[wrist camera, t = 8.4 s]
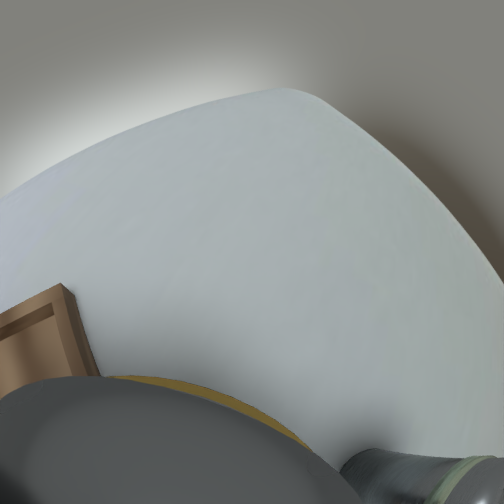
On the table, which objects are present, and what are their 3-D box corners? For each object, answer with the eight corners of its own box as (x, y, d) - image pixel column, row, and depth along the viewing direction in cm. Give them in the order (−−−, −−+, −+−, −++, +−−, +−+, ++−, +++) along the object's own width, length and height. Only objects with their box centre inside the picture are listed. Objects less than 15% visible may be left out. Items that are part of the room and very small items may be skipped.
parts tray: (20, 485, 10) (4, 488, 7) (-25, 345, 15) (-41, 337, 13) (141, 457, 14) (131, 464, 12) (74, 295, 20) (60, 282, 18)
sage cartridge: (352, 518, 13) (459, 572, 2) (320, 478, 15) (434, 533, 4) (404, 475, 15) (525, 488, 4) (378, 433, 17) (511, 431, 6)
